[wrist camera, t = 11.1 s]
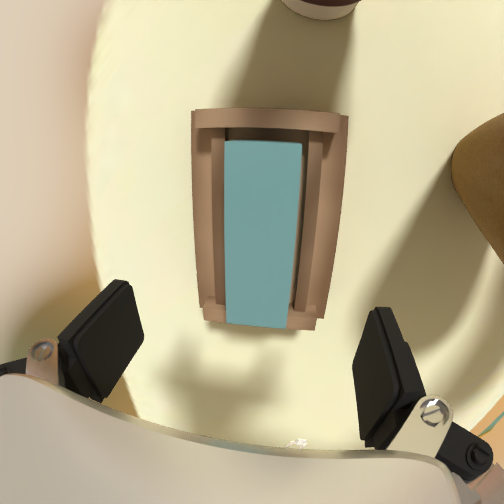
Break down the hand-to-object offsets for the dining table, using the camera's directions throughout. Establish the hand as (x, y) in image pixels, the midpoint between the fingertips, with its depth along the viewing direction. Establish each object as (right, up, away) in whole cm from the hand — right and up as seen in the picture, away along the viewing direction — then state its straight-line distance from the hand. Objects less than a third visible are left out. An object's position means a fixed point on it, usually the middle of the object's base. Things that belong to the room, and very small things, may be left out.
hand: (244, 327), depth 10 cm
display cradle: (+2, +6, +15) cm, 16 cm away
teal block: (+1, +5, +12) cm, 13 cm away
